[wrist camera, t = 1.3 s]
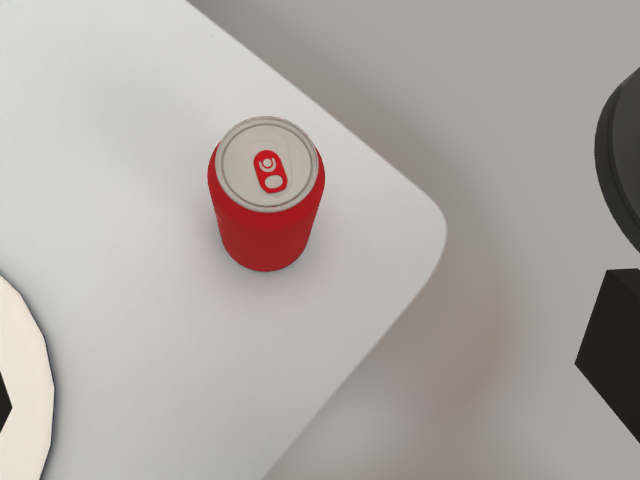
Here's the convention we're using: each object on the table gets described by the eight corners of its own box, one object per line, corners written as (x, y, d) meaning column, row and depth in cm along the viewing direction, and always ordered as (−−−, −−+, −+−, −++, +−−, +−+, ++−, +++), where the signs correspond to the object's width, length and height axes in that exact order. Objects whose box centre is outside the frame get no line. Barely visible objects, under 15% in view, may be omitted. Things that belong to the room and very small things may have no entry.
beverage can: (292, 181, 39) (307, 94, 28) (320, 259, 38) (347, 200, 26) (210, 204, 38) (189, 123, 26) (235, 285, 36) (225, 236, 25)
